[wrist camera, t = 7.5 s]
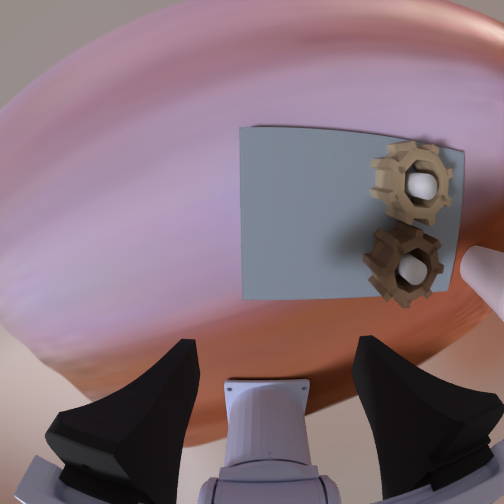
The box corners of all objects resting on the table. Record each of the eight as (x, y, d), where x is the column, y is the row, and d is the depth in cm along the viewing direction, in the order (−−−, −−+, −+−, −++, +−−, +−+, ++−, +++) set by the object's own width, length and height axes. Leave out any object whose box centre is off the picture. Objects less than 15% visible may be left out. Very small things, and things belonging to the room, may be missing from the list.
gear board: (440, 285, 21) (469, 308, 16) (243, 292, 21) (239, 325, 17) (455, 152, 17) (491, 153, 13) (240, 130, 18) (235, 117, 13)
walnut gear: (426, 273, 19) (446, 287, 16) (372, 299, 20) (386, 318, 17) (415, 212, 18) (437, 220, 15) (355, 237, 19) (371, 250, 16)
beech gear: (427, 218, 18) (449, 227, 15) (367, 215, 18) (385, 224, 15) (430, 149, 16) (453, 149, 14) (369, 139, 16) (388, 136, 14)
